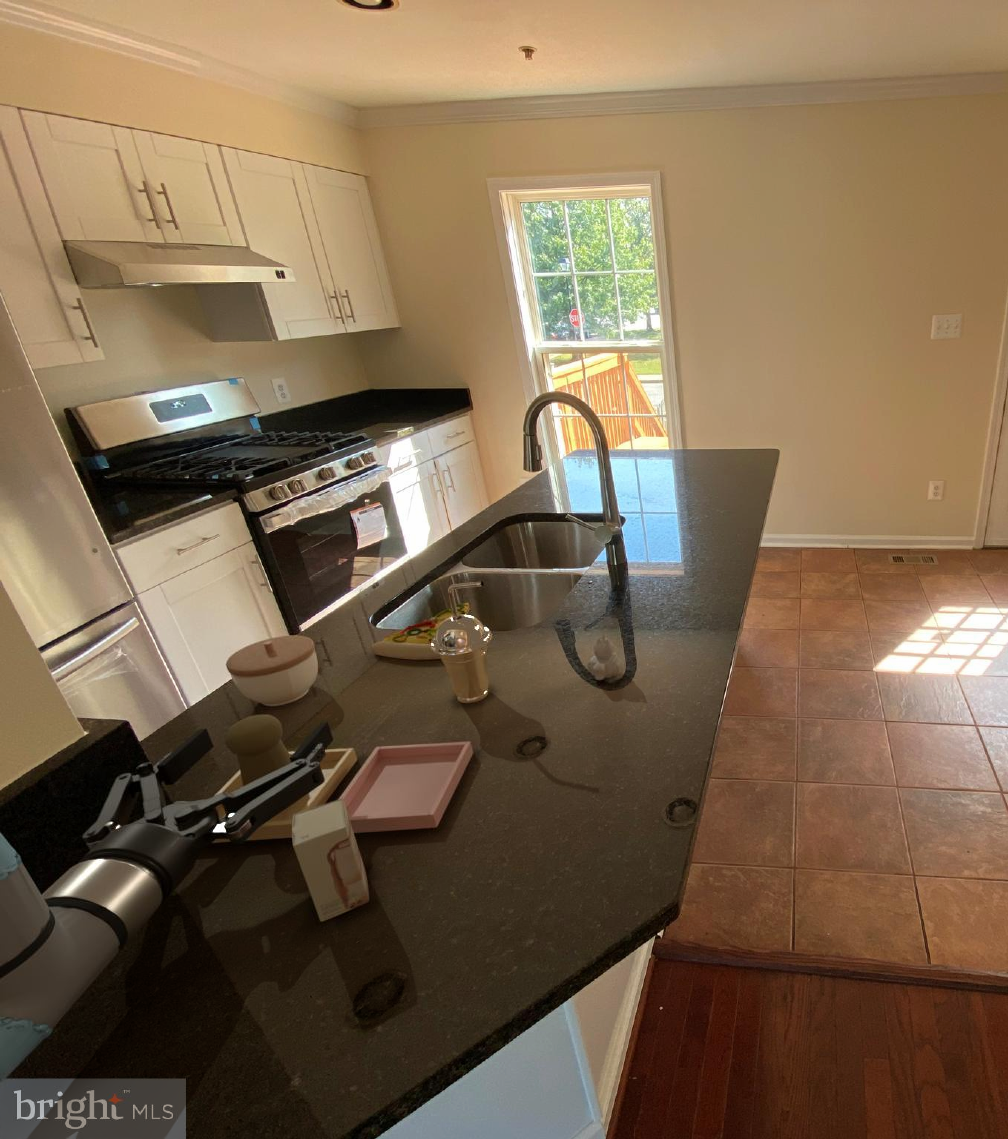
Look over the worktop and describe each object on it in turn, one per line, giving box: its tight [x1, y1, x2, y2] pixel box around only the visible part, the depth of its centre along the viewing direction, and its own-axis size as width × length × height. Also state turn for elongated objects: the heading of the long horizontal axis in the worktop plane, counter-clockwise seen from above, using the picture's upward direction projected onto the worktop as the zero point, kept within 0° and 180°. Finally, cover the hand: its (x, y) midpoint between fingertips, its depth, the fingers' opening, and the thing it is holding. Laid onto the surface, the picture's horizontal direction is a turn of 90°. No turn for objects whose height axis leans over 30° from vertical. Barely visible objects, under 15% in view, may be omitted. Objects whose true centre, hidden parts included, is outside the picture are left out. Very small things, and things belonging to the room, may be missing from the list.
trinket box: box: [225, 634, 319, 707], centre depth 94 cm, size 11×11×9 cm
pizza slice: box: [371, 602, 470, 661], centre depth 114 cm, size 16×21×3 cm
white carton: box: [291, 798, 370, 922], centre depth 62 cm, size 5×4×10 cm
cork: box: [225, 714, 295, 786], centre depth 73 cm, size 6×6×11 cm
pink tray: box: [337, 741, 474, 834], centre depth 77 cm, size 12×13×2 cm
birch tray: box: [211, 747, 358, 844], centre depth 75 cm, size 12×13×2 cm
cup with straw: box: [431, 580, 493, 704], centre depth 92 cm, size 8×9×20 cm
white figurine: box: [587, 632, 623, 681], centre depth 100 cm, size 5×7×8 cm
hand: (267, 734), depth 74 cm, fingers open, 13 cm apart
